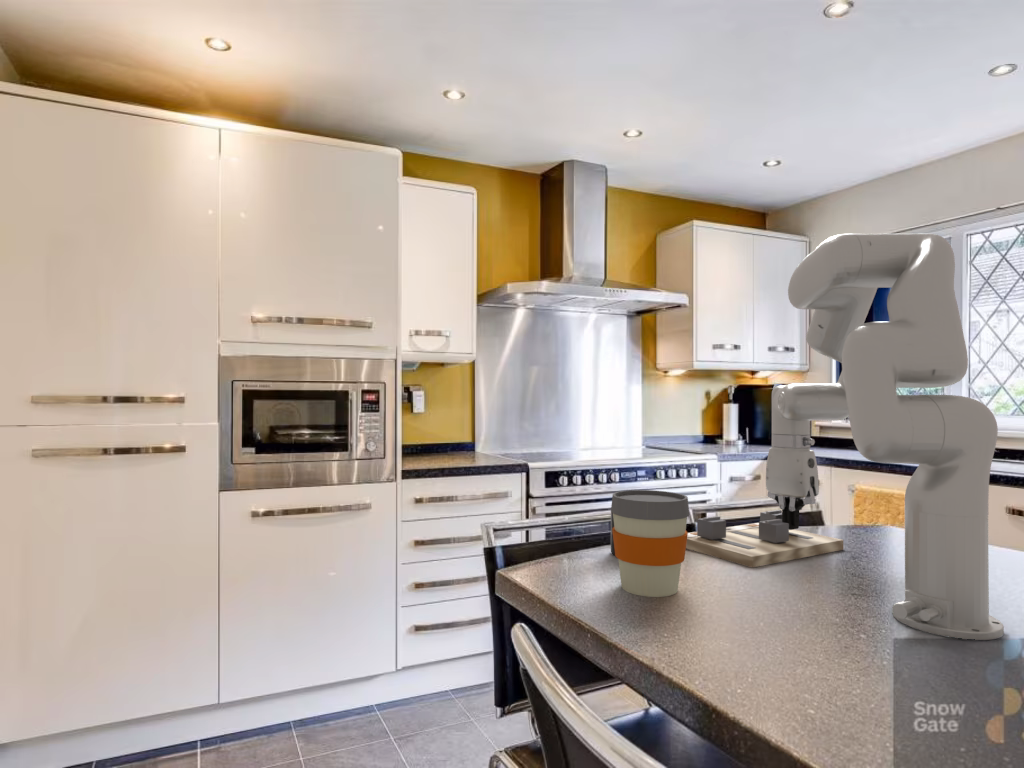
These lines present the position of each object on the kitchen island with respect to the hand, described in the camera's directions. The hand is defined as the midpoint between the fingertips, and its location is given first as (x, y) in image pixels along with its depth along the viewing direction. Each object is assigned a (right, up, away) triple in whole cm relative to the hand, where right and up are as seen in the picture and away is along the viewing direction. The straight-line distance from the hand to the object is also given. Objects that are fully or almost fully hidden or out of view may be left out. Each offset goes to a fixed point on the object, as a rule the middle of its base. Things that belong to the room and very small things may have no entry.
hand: (790, 528), depth 132 cm
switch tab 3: (-6, -1, -7) cm, 9 cm away
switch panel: (-9, -3, -3) cm, 10 cm away
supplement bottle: (-37, -3, -11) cm, 38 cm away
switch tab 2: (-2, -1, +4) cm, 4 cm away
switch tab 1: (-18, -1, -4) cm, 19 cm away
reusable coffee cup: (-37, -3, -32) cm, 49 cm away
